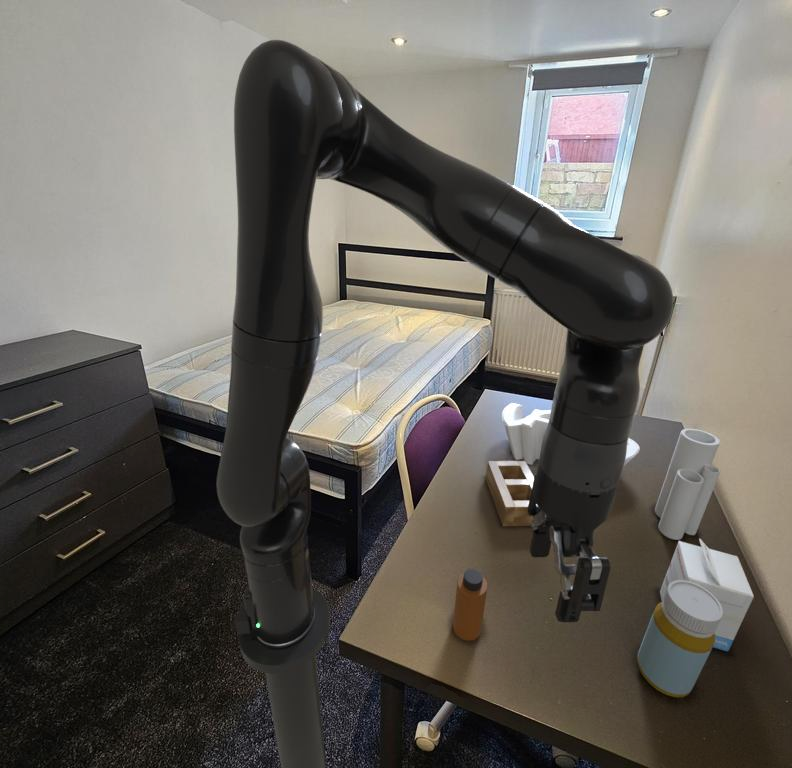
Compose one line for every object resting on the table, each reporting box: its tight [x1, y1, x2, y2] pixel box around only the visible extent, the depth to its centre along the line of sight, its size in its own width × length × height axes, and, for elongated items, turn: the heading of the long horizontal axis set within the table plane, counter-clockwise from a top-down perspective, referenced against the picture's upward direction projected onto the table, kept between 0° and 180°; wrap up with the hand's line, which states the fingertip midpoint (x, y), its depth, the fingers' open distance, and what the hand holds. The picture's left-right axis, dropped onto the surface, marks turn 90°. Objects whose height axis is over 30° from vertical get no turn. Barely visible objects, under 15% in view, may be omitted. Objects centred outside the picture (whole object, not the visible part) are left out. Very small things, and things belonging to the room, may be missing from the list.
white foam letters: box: [501, 402, 640, 468], centre depth 108 cm, size 35×16×11 cm, turn 55°
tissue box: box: [659, 538, 755, 652], centre depth 64 cm, size 9×8×13 cm
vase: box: [654, 428, 721, 541], centre depth 84 cm, size 11×7×20 cm, turn 160°
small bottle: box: [452, 567, 488, 642], centre depth 62 cm, size 4×4×11 cm
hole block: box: [485, 460, 535, 527], centre depth 92 cm, size 9×16×5 cm, turn 4°
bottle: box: [636, 580, 723, 698], centre depth 56 cm, size 7×7×15 cm
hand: (551, 584), depth 47 cm, fingers open, 8 cm apart
